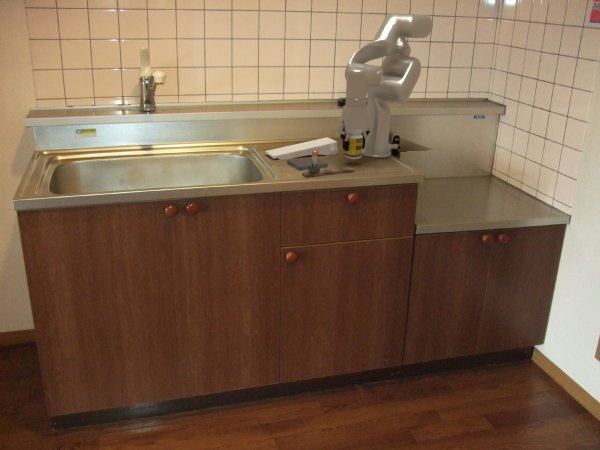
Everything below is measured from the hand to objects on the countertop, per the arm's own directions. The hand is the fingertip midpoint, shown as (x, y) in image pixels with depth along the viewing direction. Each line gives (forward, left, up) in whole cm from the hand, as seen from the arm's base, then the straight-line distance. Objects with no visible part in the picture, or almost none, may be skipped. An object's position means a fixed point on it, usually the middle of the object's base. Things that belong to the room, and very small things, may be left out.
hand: (353, 148), depth 231 cm
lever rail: (+15, +8, -6) cm, 18 cm away
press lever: (+21, +8, -5) cm, 23 cm away
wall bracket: (+12, -19, -7) cm, 24 cm away
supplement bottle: (0, 0, -3) cm, 3 cm away
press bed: (+17, -5, -6) cm, 19 cm away
